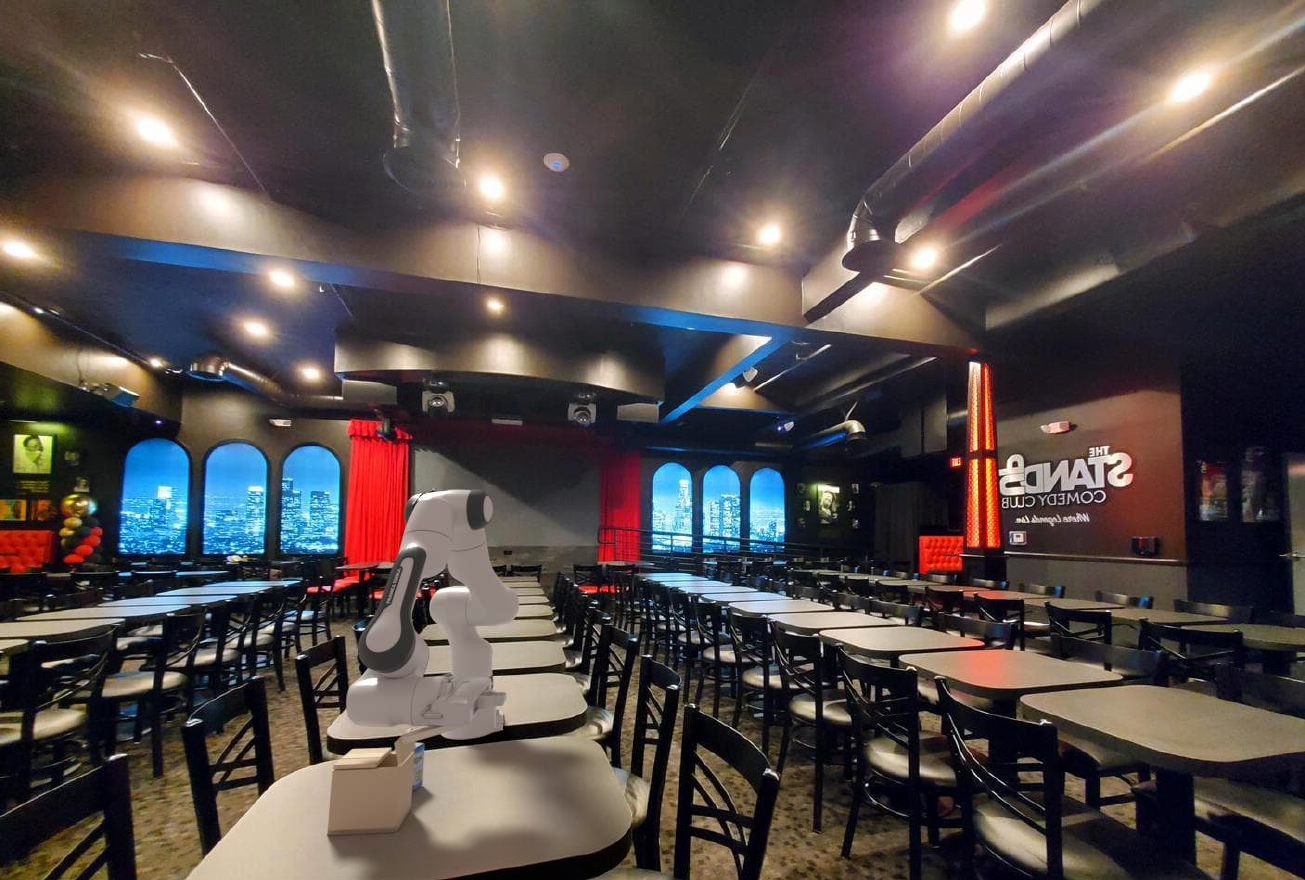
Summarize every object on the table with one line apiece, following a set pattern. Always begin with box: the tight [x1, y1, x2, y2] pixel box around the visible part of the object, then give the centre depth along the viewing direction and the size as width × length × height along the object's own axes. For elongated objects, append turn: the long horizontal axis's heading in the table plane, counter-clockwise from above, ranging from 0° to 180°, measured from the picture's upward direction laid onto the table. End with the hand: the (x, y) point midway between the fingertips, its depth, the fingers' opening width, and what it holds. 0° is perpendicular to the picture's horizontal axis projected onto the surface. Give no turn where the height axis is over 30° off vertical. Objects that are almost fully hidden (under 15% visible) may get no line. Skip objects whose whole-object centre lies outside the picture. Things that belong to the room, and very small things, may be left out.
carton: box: [326, 747, 414, 836], centre depth 105 cm, size 8×12×12 cm, turn 95°
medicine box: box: [391, 741, 425, 793], centre depth 117 cm, size 8×4×9 cm, turn 168°
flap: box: [394, 725, 466, 765], centre depth 108 cm, size 8×4×13 cm
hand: (505, 698), depth 110 cm, fingers closed
